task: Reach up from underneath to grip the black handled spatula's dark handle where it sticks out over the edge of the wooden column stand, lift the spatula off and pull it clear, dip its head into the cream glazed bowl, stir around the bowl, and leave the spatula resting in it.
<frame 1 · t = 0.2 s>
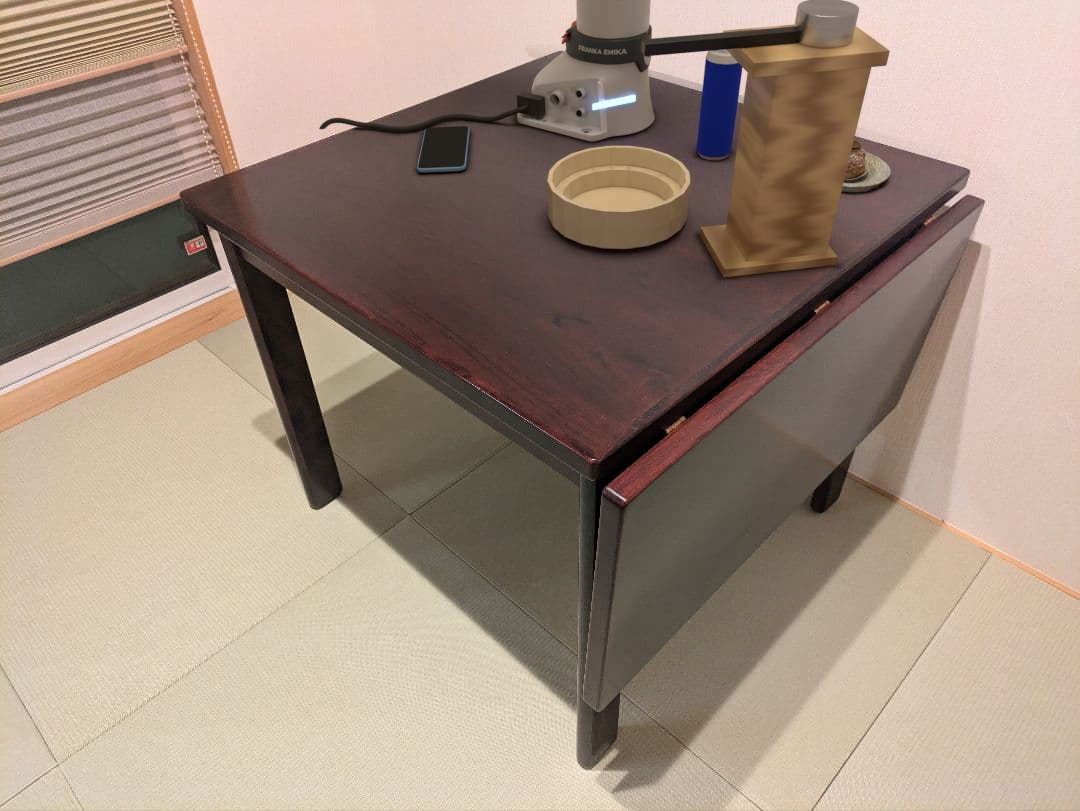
beverage can: (713, 155, 119), on the table
bowl: (617, 218, 106), on the table
black handled spatula: (822, 38, 82), point 25 cm above the table, touching wooden column stand
smartphone: (444, 151, 123), on the table
pastry: (843, 175, 113), on the table
wooden column stand: (765, 249, 99), on the table
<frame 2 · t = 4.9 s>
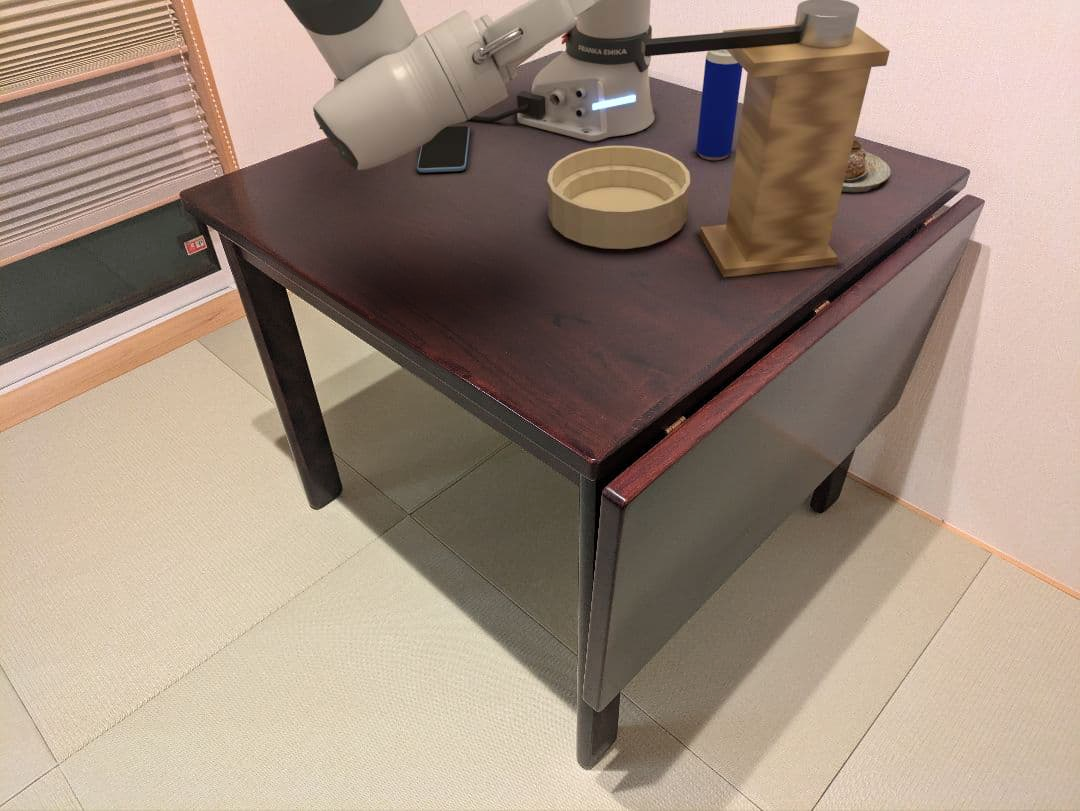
nothing on the table moved.
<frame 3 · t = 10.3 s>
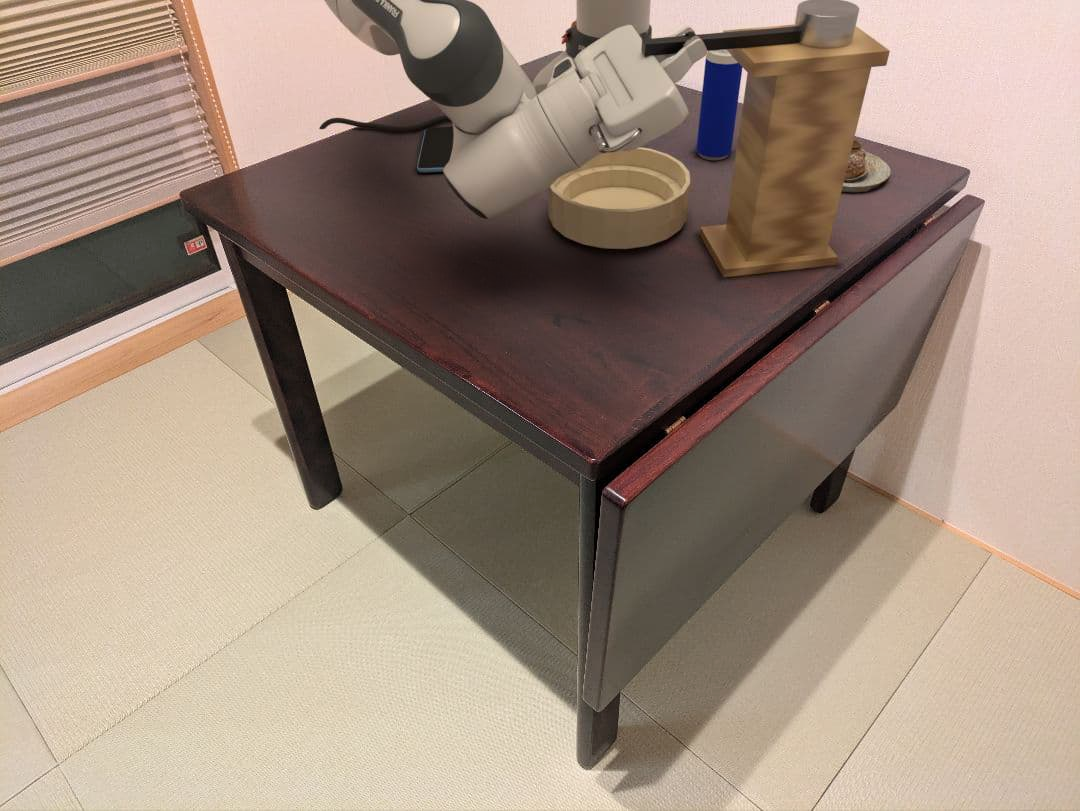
hand: (698, 38, 80), 26 cm above the table, tool pointing upward, fingers closed on black handled spatula, 2 cm apart
black handled spatula: (822, 38, 82), point 25 cm above the table, touching gripper, wooden column stand
everything else where it was.
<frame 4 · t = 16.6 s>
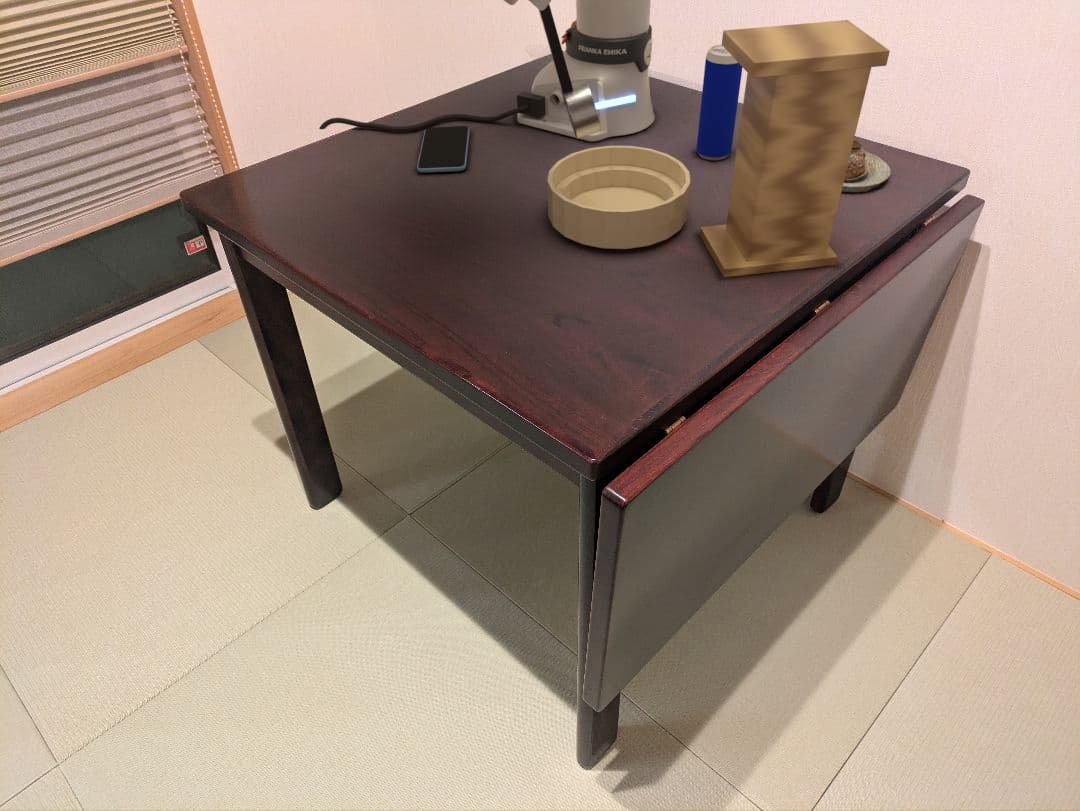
hand: (544, 0, 86), 28 cm above the table, tool tilted 45°, fingers closed on black handled spatula, 2 cm apart
black handled spatula: (569, 114, 95), point 15 cm above the table, tilted 75°, touching gripper
everything else where it was.
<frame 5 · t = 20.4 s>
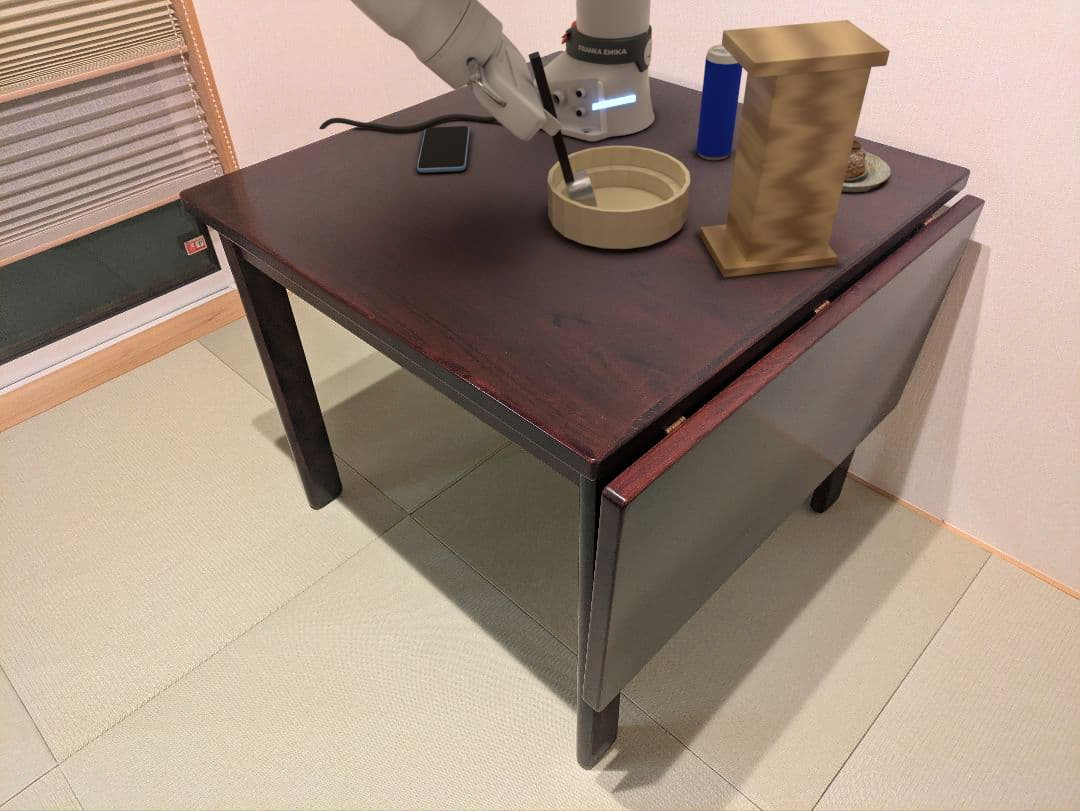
hand: (554, 124, 95), 14 cm above the table, tool tilted 45°, fingers closed on black handled spatula, 2 cm apart
black handled spatula: (569, 199, 103), point 4 cm above the table, tilted 76°, touching bowl, gripper
everything else where it was.
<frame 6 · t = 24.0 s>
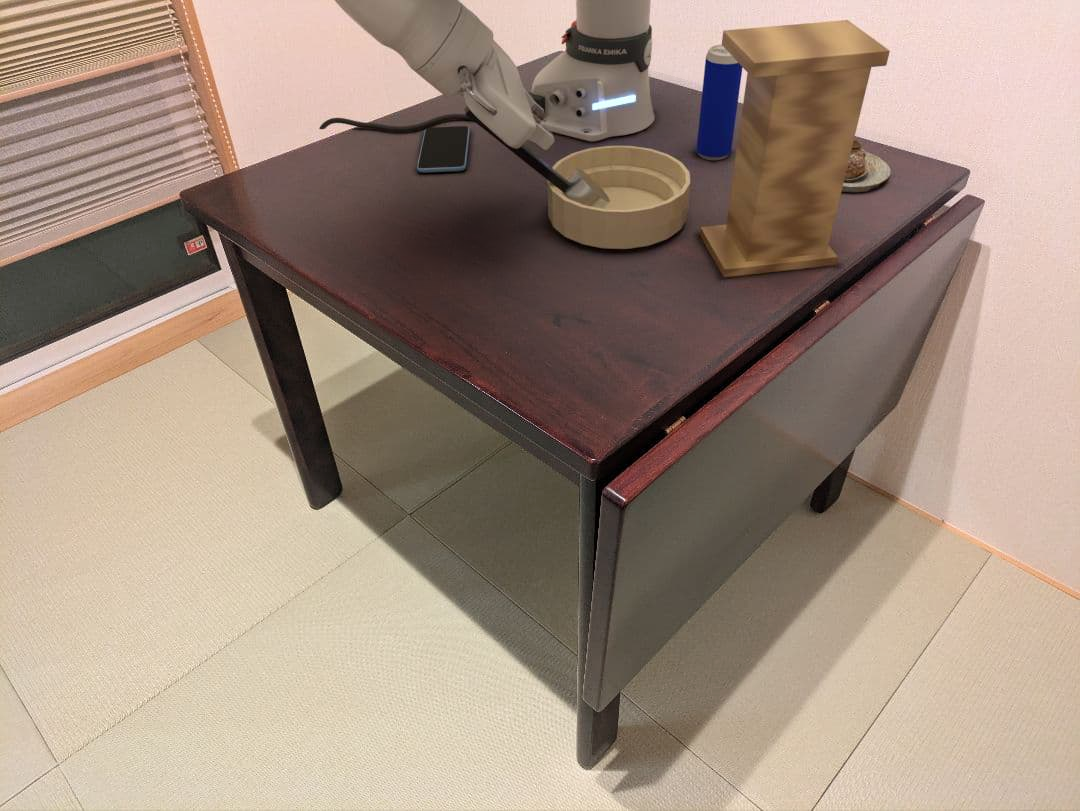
hand: (545, 130, 96), 13 cm above the table, tool tilted 45°, fingers open, 6 cm apart
black handled spatula: (577, 202, 103), point 3 cm above the table, tilted 45°, touching bowl
everything else where it was.
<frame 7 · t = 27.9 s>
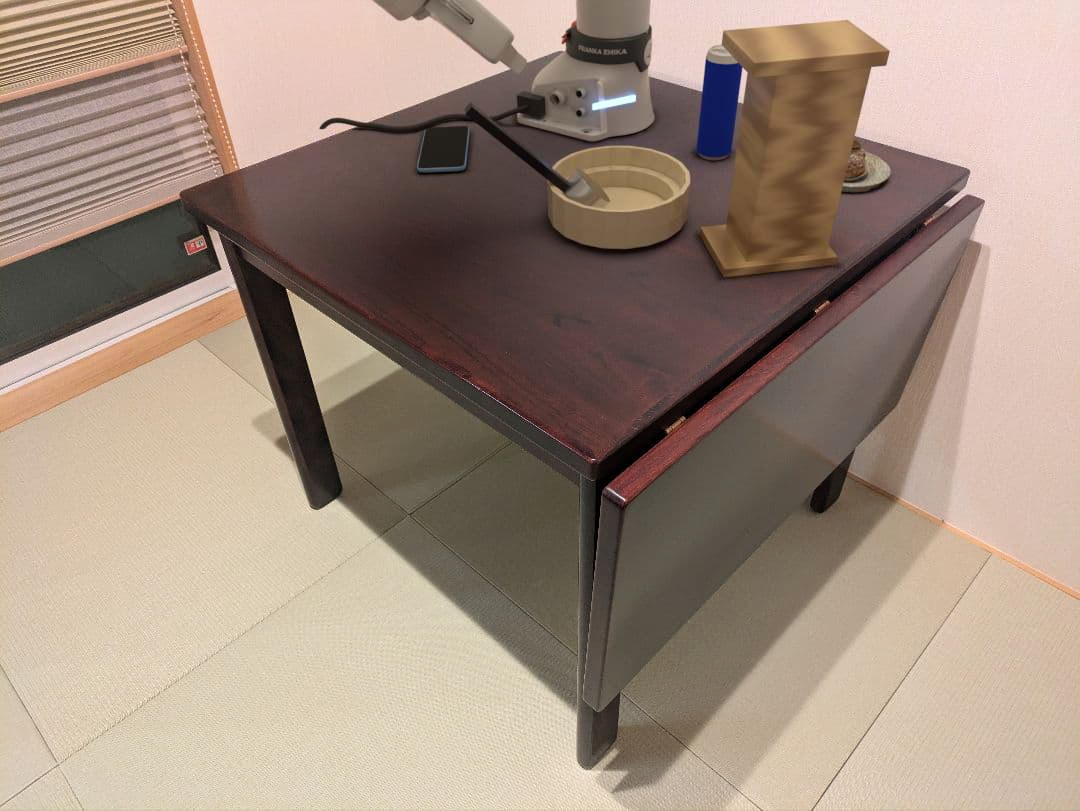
hand: (505, 55, 89), 22 cm above the table, tool tilted 45°, fingers open, 8 cm apart
nothing on the table moved.
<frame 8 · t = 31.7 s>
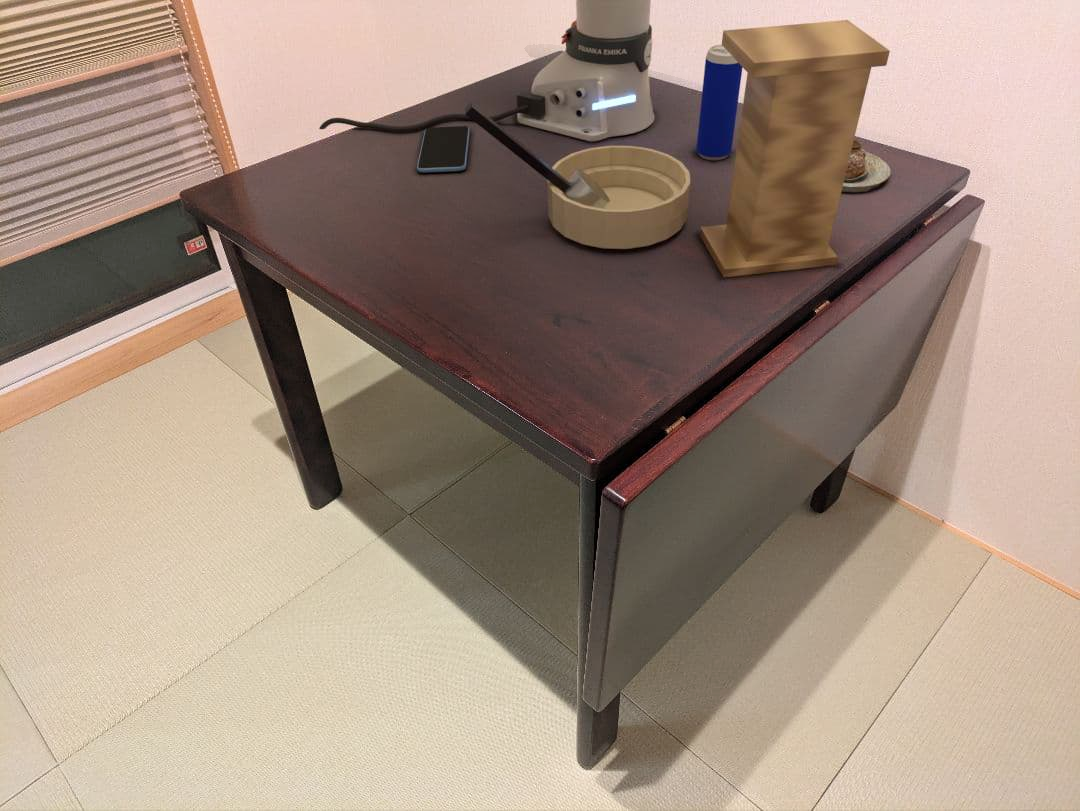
nothing on the table moved.
at the end: black handled spatula point 2.9 cm above the table; black handled spatula inside the target area in the bowl (5.4 cm from its centre), point 2.9 cm above the bowl's base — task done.
